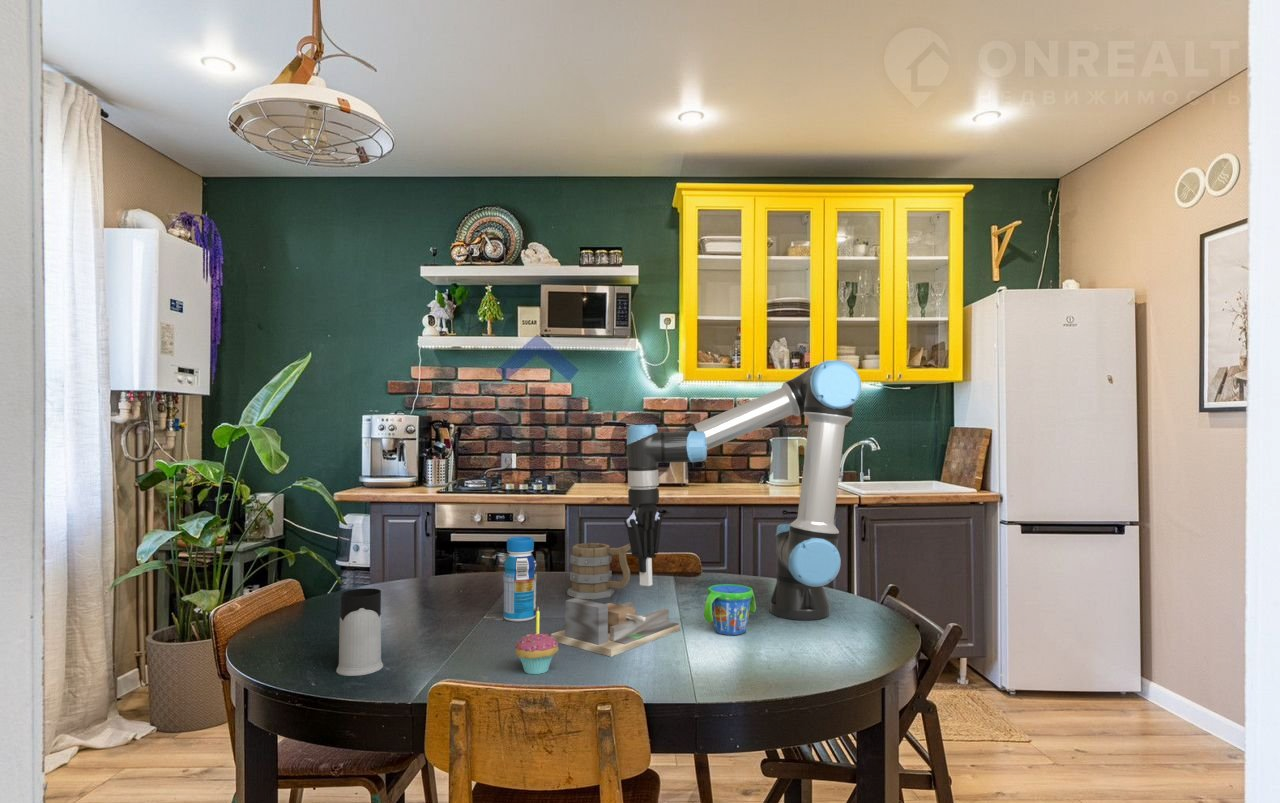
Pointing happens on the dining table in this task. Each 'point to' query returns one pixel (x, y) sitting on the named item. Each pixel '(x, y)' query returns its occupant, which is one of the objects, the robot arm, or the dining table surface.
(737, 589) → the snack cup
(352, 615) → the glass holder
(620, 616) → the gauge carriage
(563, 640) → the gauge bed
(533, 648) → the cupcake
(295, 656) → the dining table surface
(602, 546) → the tankard
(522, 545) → the beverage bottle
